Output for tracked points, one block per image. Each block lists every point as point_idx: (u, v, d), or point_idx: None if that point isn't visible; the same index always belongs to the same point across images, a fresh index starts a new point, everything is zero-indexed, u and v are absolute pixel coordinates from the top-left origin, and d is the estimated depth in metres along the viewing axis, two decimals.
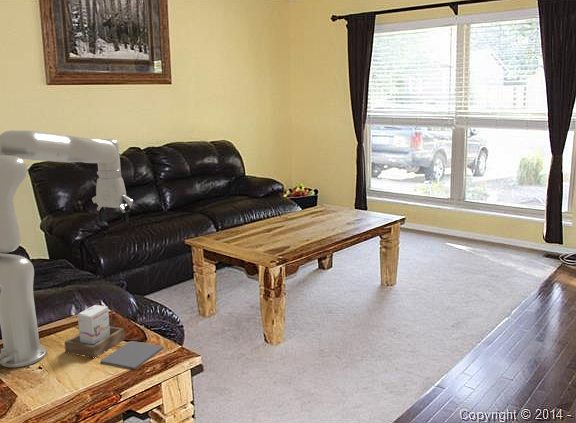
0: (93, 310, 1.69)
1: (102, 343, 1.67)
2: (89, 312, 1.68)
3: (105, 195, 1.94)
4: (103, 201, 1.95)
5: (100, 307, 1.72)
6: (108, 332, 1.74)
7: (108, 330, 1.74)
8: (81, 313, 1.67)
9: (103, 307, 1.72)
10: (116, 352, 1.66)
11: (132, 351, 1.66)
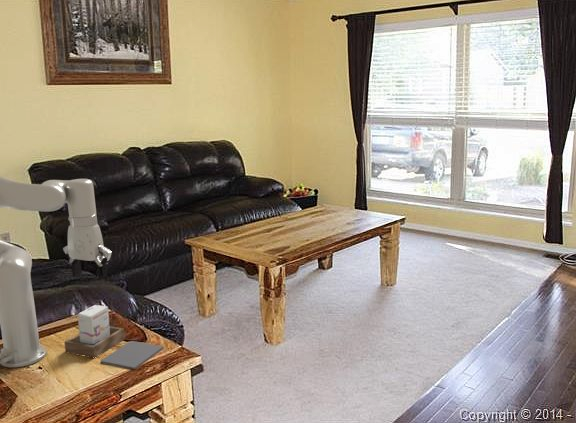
0: (93, 310, 1.69)
1: (102, 343, 1.67)
2: (89, 312, 1.68)
3: (78, 246, 1.63)
4: (76, 253, 1.64)
5: (100, 307, 1.72)
6: (108, 332, 1.74)
7: (108, 330, 1.74)
8: (81, 313, 1.67)
9: (103, 307, 1.72)
10: (116, 352, 1.66)
11: (132, 351, 1.66)
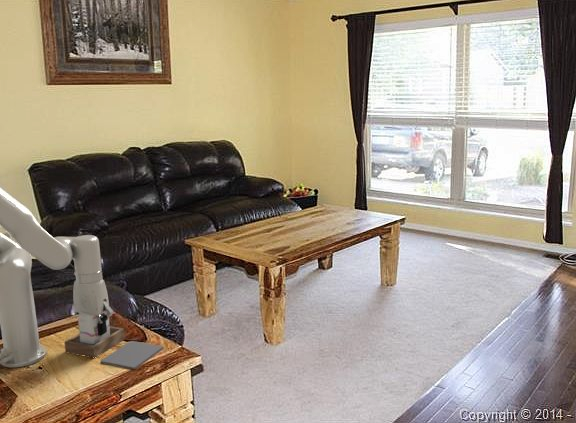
0: None
1: (102, 343, 1.67)
2: None
3: (84, 301, 1.66)
4: (81, 307, 1.67)
5: None
6: (108, 332, 1.74)
7: (108, 330, 1.74)
8: (81, 313, 1.67)
9: None
10: (116, 352, 1.66)
11: (132, 351, 1.66)
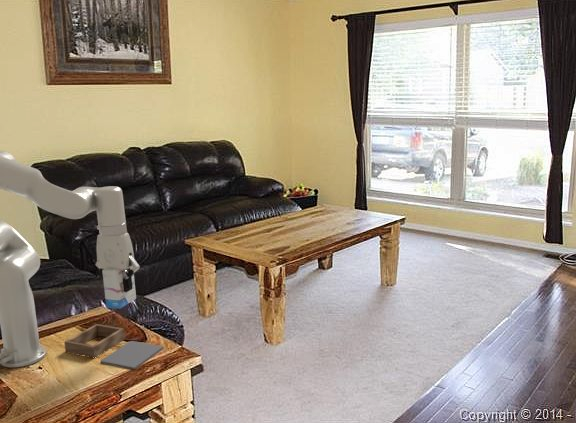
0: None
1: (102, 343, 1.67)
2: None
3: (108, 255, 1.58)
4: (106, 262, 1.59)
5: None
6: (134, 289, 1.66)
7: (134, 287, 1.66)
8: (106, 268, 1.59)
9: None
10: (116, 352, 1.66)
11: (132, 351, 1.66)
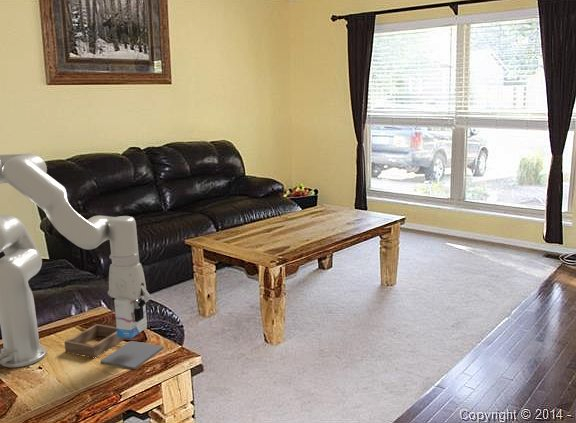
0: None
1: (102, 343, 1.67)
2: None
3: (120, 285, 1.58)
4: (117, 292, 1.59)
5: None
6: (145, 318, 1.66)
7: (145, 316, 1.66)
8: (118, 298, 1.59)
9: None
10: (116, 352, 1.66)
11: (132, 351, 1.66)
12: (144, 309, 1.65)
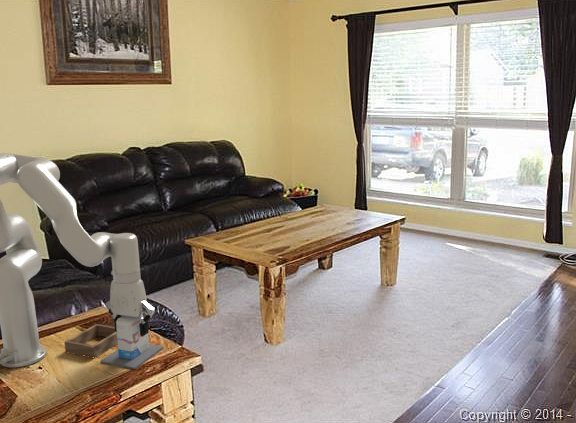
0: None
1: (102, 343, 1.67)
2: (128, 318, 1.61)
3: (122, 302, 1.59)
4: (119, 308, 1.60)
5: None
6: (146, 339, 1.67)
7: (146, 337, 1.67)
8: (120, 319, 1.60)
9: None
10: (116, 352, 1.66)
11: None
12: None
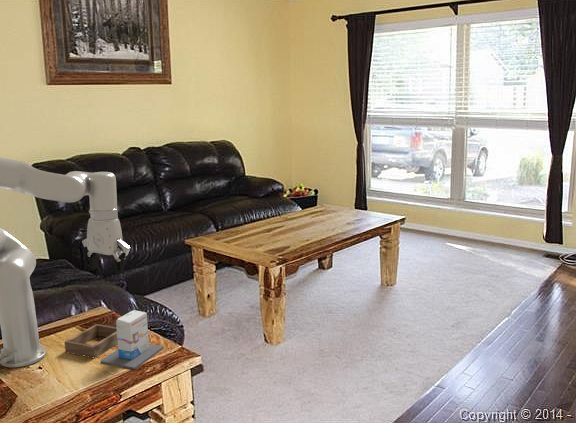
0: (132, 316, 1.63)
1: (102, 343, 1.67)
2: (128, 318, 1.61)
3: (97, 239, 1.61)
4: (94, 246, 1.62)
5: (139, 313, 1.65)
6: (146, 339, 1.67)
7: (146, 337, 1.67)
8: (120, 319, 1.60)
9: (142, 313, 1.65)
10: (116, 352, 1.66)
11: None
12: (146, 330, 1.66)
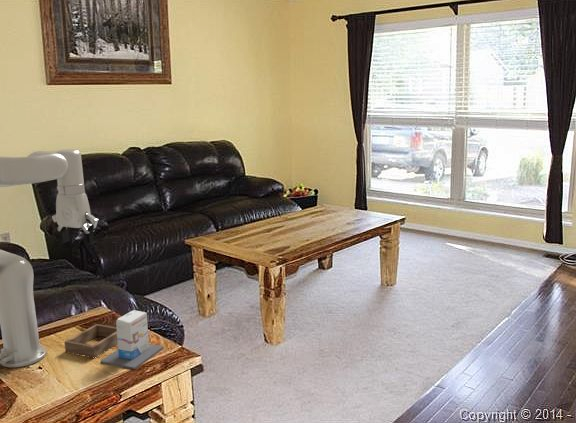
0: (132, 316, 1.63)
1: (102, 343, 1.67)
2: (128, 318, 1.61)
3: (66, 213, 1.70)
4: (64, 220, 1.71)
5: (139, 313, 1.65)
6: (146, 339, 1.67)
7: (146, 337, 1.67)
8: (120, 319, 1.60)
9: (142, 313, 1.65)
10: (116, 352, 1.66)
11: None
12: (146, 330, 1.66)
